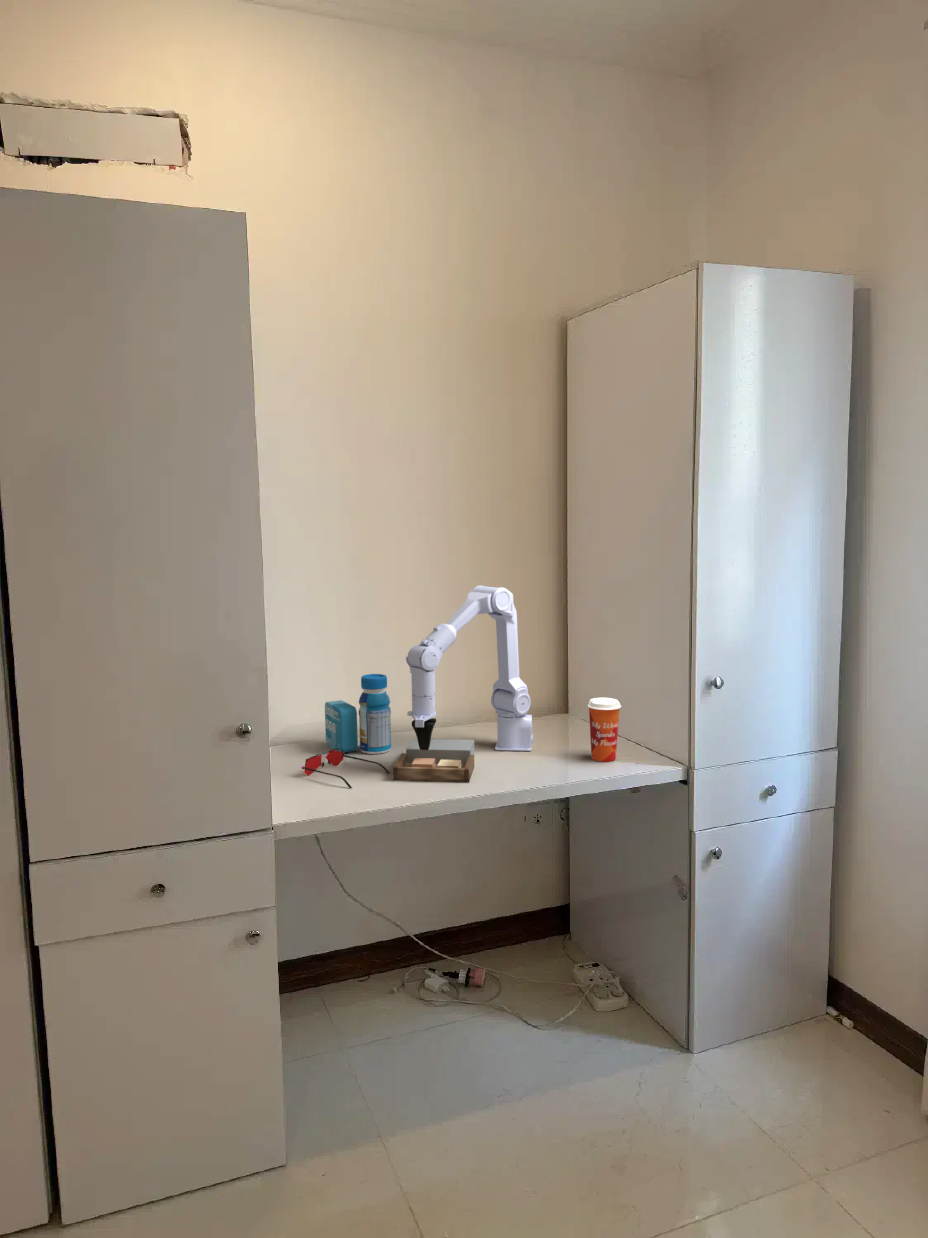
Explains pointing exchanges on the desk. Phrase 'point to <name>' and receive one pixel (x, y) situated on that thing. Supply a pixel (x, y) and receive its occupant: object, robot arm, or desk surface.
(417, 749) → the slate slab
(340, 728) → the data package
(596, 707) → the coffee cup
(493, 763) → the desk surface
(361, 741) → the beverage bottle
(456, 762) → the ash tile
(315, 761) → the glasses
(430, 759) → the terracotta tile
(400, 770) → the walnut box
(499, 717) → the robot arm
